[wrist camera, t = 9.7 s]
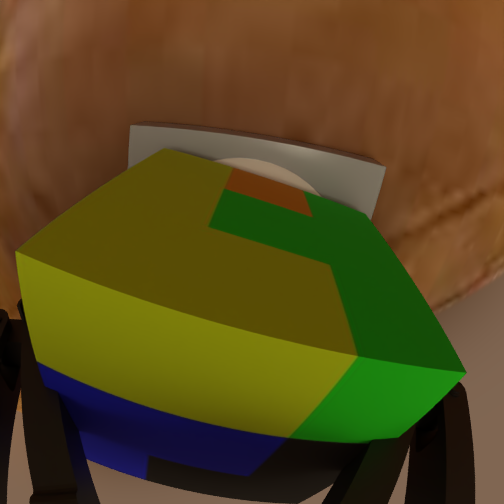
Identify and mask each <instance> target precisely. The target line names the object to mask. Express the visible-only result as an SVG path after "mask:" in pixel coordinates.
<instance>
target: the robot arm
mask: <svg viewBox="0 0 504 504" xmlns="http://www.w3.org/2000/svg"><path fill="white" fill-rule="evenodd" d="M17 307H18V310H19V313H20V316H21V319H22V320H19V319H9V316H8V313H7V312H6V311H5V310H3V309H0V504H7V481H8V467H9V456H10V447H11V440H12V433H13V426H14V420H15V414H16V409H17V404H18V399H19V394H20V390H21V398H22V414H23V426H24V436H25V444H26V451H27V458H28V464H29V469H30V475H31V480H32V485H33V494H32V496H31V497H30V502H29V503H30V504H100V502H99V499H98V496H97V493H96V490H95V487H94V484H93V481H92V478H91V474H90V471H89V467H88V464H87V460H86V457H85V453H84V449H83V445H82V441H81V437H80V433H79V430H78V428H77V427H76V425H75V423H74V421H73V420H72V418H71V416H70V414H69V412H68V410H67V409H66V407H65V405H64V403H63V401H62V399H61V397H60V395H59V393H58V391H55V390H53V389H50V388H48V387H45V386H44V383H43V380H42V377H41V374H40V371H39V368H38V364H37V361H36V357H35V354H34V350H33V346H32V343H31V339H30V334H29V330H28V326H27V322H26V317H25V312H24V307H23V302H22V298H21V299H20V301H19V302H18V304H17ZM409 446H410V452H409V466H408V478H407V487H406V495H405V503H404V504H475V468H474V451H473V440H472V430H471V422H470V414H469V407H468V401H467V394H466V391H465V388H464V387H463V385H462V384H461V383H460V382H458V383H457V384H456V385H455V386H454V387H453V388H452V389H451V390H450V391H449V392H448V393H447V394H446V395H445V396H444V397H443V398H442V399H441V400H440V401H439V402H438V403H437V404H436V405H435V406H434V407H433V408H432V409H431V410H429V411H428V412H427V413H426V414H425V415H424V416H423V417H422V418H421V419H420V420H418V421H417V422H416V423H415V424H414V425H413V426H411V427H410V428H409V429H408V430H407V431H406V432H404V433H403V434H402V435H401V436H400V437H398V438H387V439H374V440H372V441H371V442H370V443H369V444H368V445H367V446H366V447H365V448H364V449H363V450H362V451H361V452H360V453H359V454H358V455H357V456H356V457H355V458H354V459H353V460H352V461H351V462H350V463H349V464H348V465H347V466H346V467H345V468H343V469H342V470H341V472H340V473H339V475H338V477H337V479H336V480H335V482H334V484H333V486H332V487H331V489H330V491H329V492H328V494H327V496H326V498H325V499H324V501H323V502H322V504H388V502H389V499H390V497H391V494H392V492H393V490H394V487H395V485H396V482H397V480H398V477H399V474H400V472H401V469H402V466H403V464H404V461H405V458H406V455H407V452H408V449H409Z"/></svg>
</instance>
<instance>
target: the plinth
mask: <svg viewBox="0 0 504 504" xmlns="http://www.w3.org/2000/svg"><path fill="white" fill-rule="evenodd" d="M163 148H167V149H171V150H175V151H178V152H182V153H186V154H189V155H193V156H196V157H200V158H203V159H207V160H210V161H214V162H217V163H220V164H224V165H227V166H230V167H234V168H237V169H240V170H243V171H246V172H250V173H253V174H256V175H259V176H262V177H265V178H268V179H271V180H274V181H277V182H280V183H283V184H286V185H289V186H292V187H295V188H298V189H300V190H303V191H306V192H309V193H312V194H314V195H317V196H320V197H323V198H325V199H328V200H331V201H333V202H336V203H339V204H341V205H344V206H347V207H349V208H352V209H354V210H357V211H360V212H362V213H365V214H366V215H367V217H368V218H369V219H370V221H371V218H372V215H373V212H374V208H375V205H376V202H377V198H378V195H379V191H380V188H381V184H382V181H383V177H384V174H385V170H386V167H385V166H384V165H382V164H381V163H379V162H378V161H376V160H375V159H372V158H368V157H364V156H360V155H356V154H352V153H348V152H344V151H340V150H336V149H332V148H327V147H323V146H318V145H314V144H309V143H304V142H299V141H294V140H289V139H284V138H278V137H273V136H267V135H261V134H255V133H248V132H242V131H235V130H228V129H220V128H212V127H203V126H194V125H184V124H173V123H161V122H146V121H144V122H140V123H137V124H133V125H130V138H129V155H128V169H129V168H131V167H132V166H134V165H136V164H137V163H139V162H141V161H142V160H144V159H146V158H147V157H149V156H151V155H152V154H154V153H156V152H158V151H159V150H161V149H163Z"/></svg>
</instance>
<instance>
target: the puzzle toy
mask: <svg viewBox="0 0 504 504" xmlns="http://www.w3.org/2000/svg"><path fill="white" fill-rule="evenodd" d="M15 254H16V263H17V270H18V278H19V284H20V290H21V296H22V302H23V307H24V312H25V317H26V322H27V326H28V330H29V334H30V339H31V343H32V346H33V350H34V354H35V357H36V361H37V364H38V368H39V371H40V374H41V377H42V380H43V383H44V386H45V387H48V388H50V389H53V390H55V391H58V393H59V395H60V397H61V399H62V401H63V403H64V405H65V407H66V409H67V410H68V412H69V414H70V416H71V418H72V420H73V421H74V423H75V425H76V427H77V428H78V430H79V433H80V437H81V441H82V445H83V449H84V453H85V457H86V459H88V460H90V461H93V462H96V463H98V464H100V465H103V466H106V467H109V468H111V469H114V470H117V471H119V472H122V473H126V474H128V475H132V476H135V477H138V478H141V479H144V480H148V481H151V482H155V483H159V484H162V485H166V486H170V487H174V488H178V489H183V490H187V491H192V492H197V493H202V494H207V495H213V496H219V497H226V498H232V499H240V500H249V501H259V502H270V503H271V502H272V503H289V504H298V503H300V502H302V501H304V500H306V499H308V498H309V497H311V496H313V495H315V494H317V493H318V492H320V491H322V490H323V489H325V488H327V487H328V486H330V485H332V484H333V483H334V482H335V480H336V479H337V477H338V475H339V473H340V472H341V470H342V469H343V468H345V467H346V466H347V465H348V464H349V463H350V462H351V461H352V460H353V459H354V458H355V457H356V456H357V455H358V454H359V453H360V452H361V451H362V450H363V449H364V448H365V447H366V446H367V445H368V444H369V443H370V442H371V441H372V440H374V439H387V438H398V437H400V436H401V435H402V434H403V433H404V432H406V431H407V430H408V429H409V428H410V427H411V426H413V425H414V424H415V423H416V422H417V421H418V420H420V419H421V418H422V417H423V416H424V415H425V414H426V413H427V412H428V411H429V410H431V409H432V408H433V407H434V406H435V405H436V404H437V403H438V402H439V401H440V400H441V399H442V398H443V397H444V396H445V395H446V394H447V393H448V392H449V391H450V390H451V389H452V388H453V387H454V386H455V385H456V384H457V383H458V382H459V381H460V379H461V378H462V377H463V376H464V375H465V374H466V371H465V369H464V367H463V365H462V363H461V361H460V359H459V357H458V355H457V354H456V352H455V350H454V348H453V347H452V345H451V343H450V341H449V339H448V337H447V336H446V334H445V332H444V330H443V329H442V327H441V325H440V324H439V322H438V320H437V319H436V317H435V315H434V313H433V312H432V310H431V309H430V307H429V305H428V304H427V302H426V300H425V299H424V297H423V296H422V294H421V293H420V291H419V289H418V288H417V286H416V285H415V283H414V282H413V280H412V279H411V277H410V276H409V274H408V273H407V271H406V270H405V268H404V267H403V265H402V264H401V262H400V261H399V259H398V258H397V257H396V255H395V254H394V252H393V251H392V249H391V248H390V247H389V245H388V244H387V242H386V241H385V240H384V238H383V237H382V235H381V234H380V233H379V231H378V230H377V229H376V227H375V226H374V225H373V223H372V222H371V221H370V219H369V218H368V217H367V215H366V214H365V213H362V212H360V211H357V210H354V209H352V208H349V207H347V206H344V205H341V204H339V203H336V202H333V201H331V200H328V199H325V198H323V197H320V196H317V195H314V194H312V193H309V192H306V191H303V190H300V189H298V188H295V187H292V186H289V185H286V184H283V183H280V182H277V181H274V180H271V179H268V178H265V177H262V176H259V175H256V174H253V173H250V172H246V171H243V170H240V169H237V168H234V167H230V166H227V165H224V164H220V163H217V162H214V161H210V160H207V159H203V158H200V157H196V156H193V155H189V154H186V153H182V152H178V151H175V150H171V149H167V148H163V149H161V150H159V151H158V152H156V153H154V154H152V155H151V156H149V157H147V158H146V159H144V160H142V161H141V162H139V163H137V164H136V165H134V166H132V167H131V168H129V169H127V170H126V171H124V172H123V173H121V174H119V175H118V176H116V177H115V178H113V179H112V180H110V181H108V182H107V183H105V184H104V185H102V186H101V187H99V188H98V189H96V190H95V191H93V192H92V193H90V194H89V195H88V196H86V197H85V198H83V199H82V200H80V201H79V202H78V203H76V204H75V205H73V206H72V207H71V208H69V209H68V210H66V211H65V212H64V213H62V214H61V215H60V216H58V217H57V218H56V219H54V220H53V221H52V222H50V223H49V224H48V225H46V226H45V227H44V228H43V229H41V230H40V231H39V232H37V233H36V234H35V235H34V236H32V237H31V238H30V239H29V240H28V241H26V242H25V243H24V244H23V245H21V246H20V247H19V248H18V249H17V250H16V251H15Z"/></svg>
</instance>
